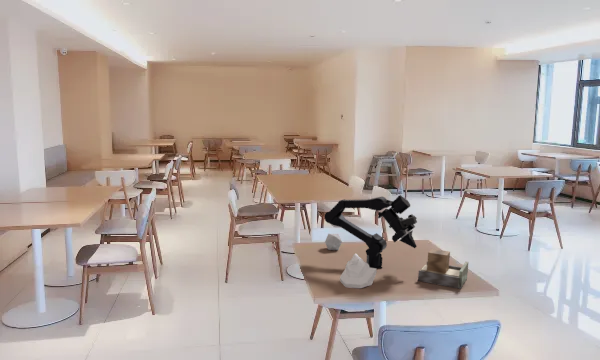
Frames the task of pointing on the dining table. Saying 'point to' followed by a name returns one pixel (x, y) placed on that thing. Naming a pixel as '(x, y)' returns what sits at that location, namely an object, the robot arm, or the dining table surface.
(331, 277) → the dining table surface
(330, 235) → the die
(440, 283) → the trap box
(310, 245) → the dining table surface
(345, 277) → the white faceted rock
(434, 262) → the walnut block
